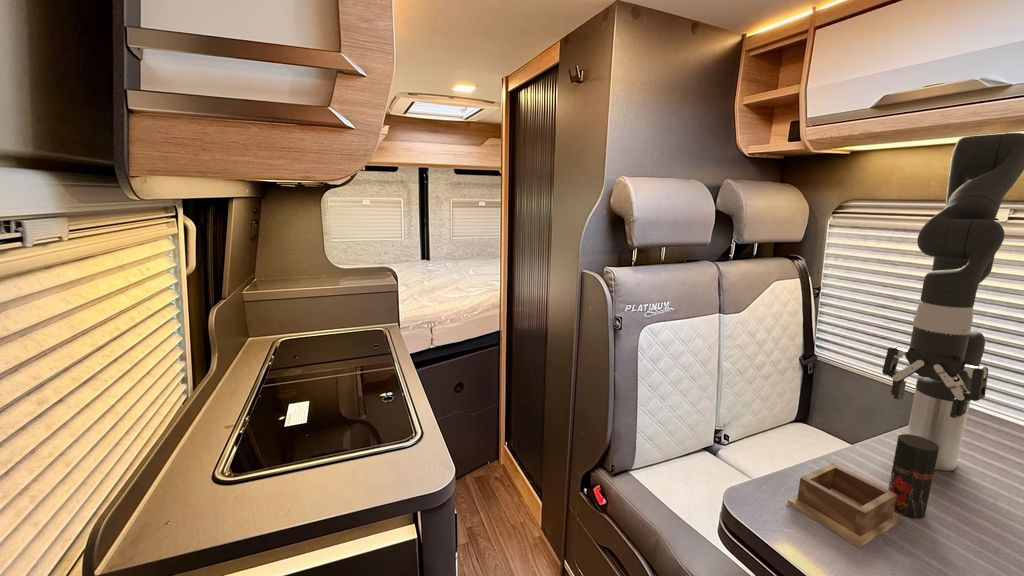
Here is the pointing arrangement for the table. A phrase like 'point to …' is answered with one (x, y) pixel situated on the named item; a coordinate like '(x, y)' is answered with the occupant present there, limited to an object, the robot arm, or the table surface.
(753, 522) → the table surface
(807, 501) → the holder
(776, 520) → the table surface
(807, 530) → the table surface
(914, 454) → the deodorant
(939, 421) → the robot arm
